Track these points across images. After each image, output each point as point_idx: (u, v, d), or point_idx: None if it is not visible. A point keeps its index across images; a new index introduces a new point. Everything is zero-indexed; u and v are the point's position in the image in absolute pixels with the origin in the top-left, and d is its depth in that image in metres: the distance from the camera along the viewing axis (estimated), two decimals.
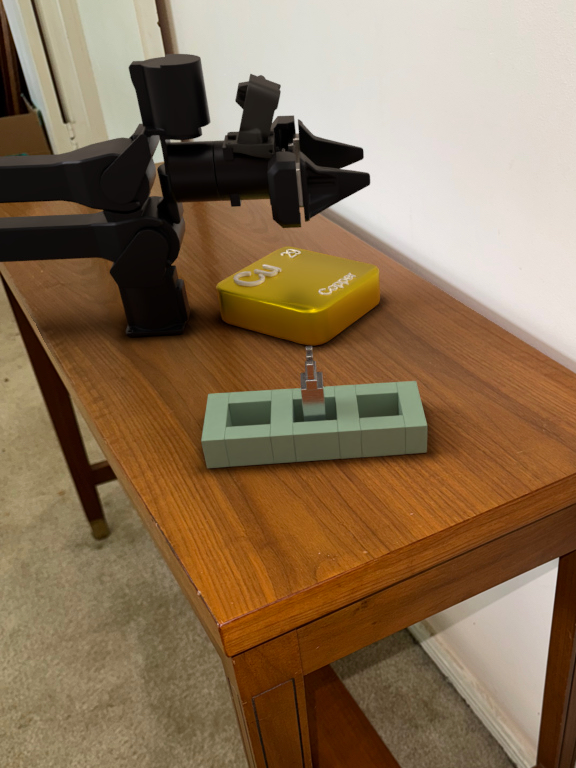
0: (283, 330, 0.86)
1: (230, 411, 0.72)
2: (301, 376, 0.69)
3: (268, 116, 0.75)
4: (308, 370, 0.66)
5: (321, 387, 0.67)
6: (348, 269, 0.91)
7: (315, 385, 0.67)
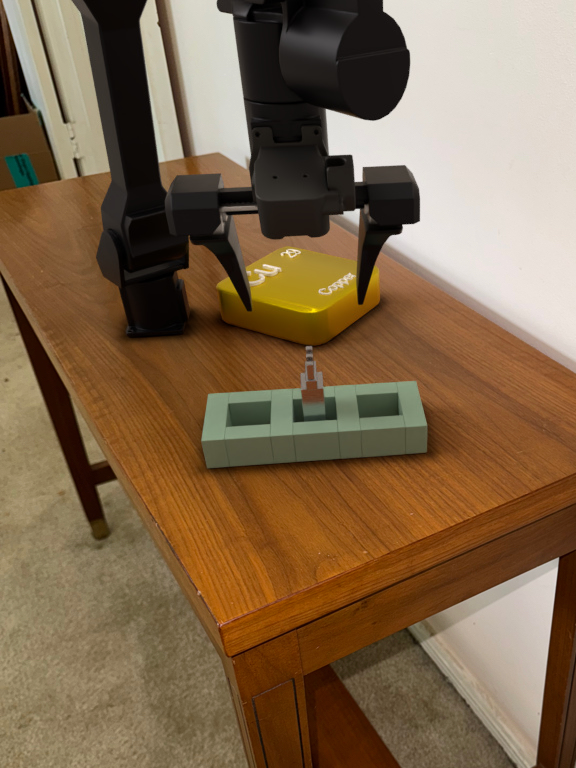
0: (283, 330, 0.86)
1: (230, 411, 0.72)
2: (301, 376, 0.69)
3: None
4: (308, 370, 0.66)
5: (321, 387, 0.67)
6: (348, 269, 0.91)
7: (315, 385, 0.67)
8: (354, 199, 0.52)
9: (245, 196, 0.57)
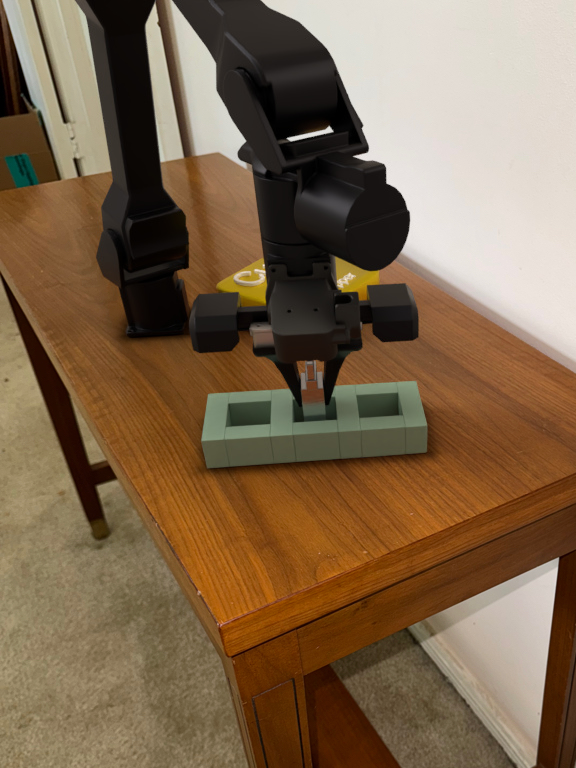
0: None
1: (230, 411, 0.72)
2: (301, 376, 0.69)
3: None
4: (308, 370, 0.66)
5: (321, 387, 0.67)
6: (348, 269, 0.91)
7: (315, 385, 0.67)
8: (359, 330, 0.58)
9: (261, 315, 0.63)
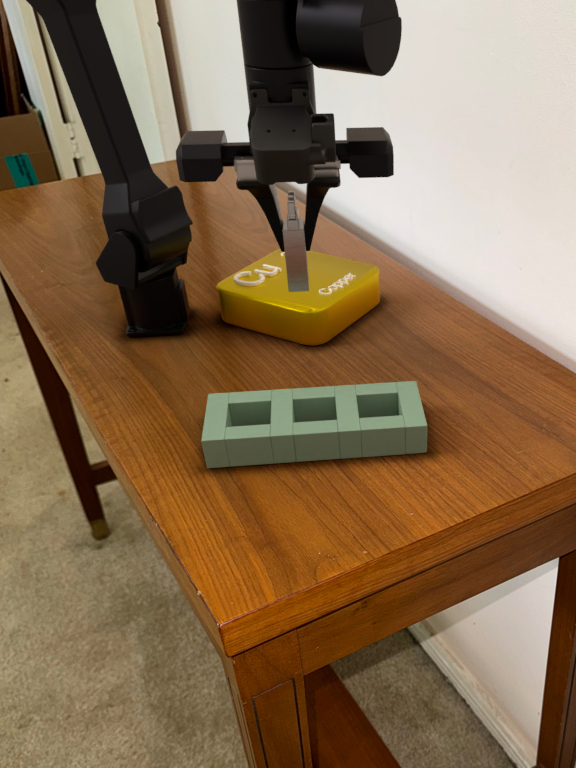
0: (283, 330, 0.86)
1: (230, 411, 0.72)
2: (284, 221, 0.72)
3: None
4: (289, 209, 0.69)
5: (302, 229, 0.71)
6: (348, 269, 0.91)
7: (296, 225, 0.70)
8: (335, 151, 0.61)
9: (244, 150, 0.67)
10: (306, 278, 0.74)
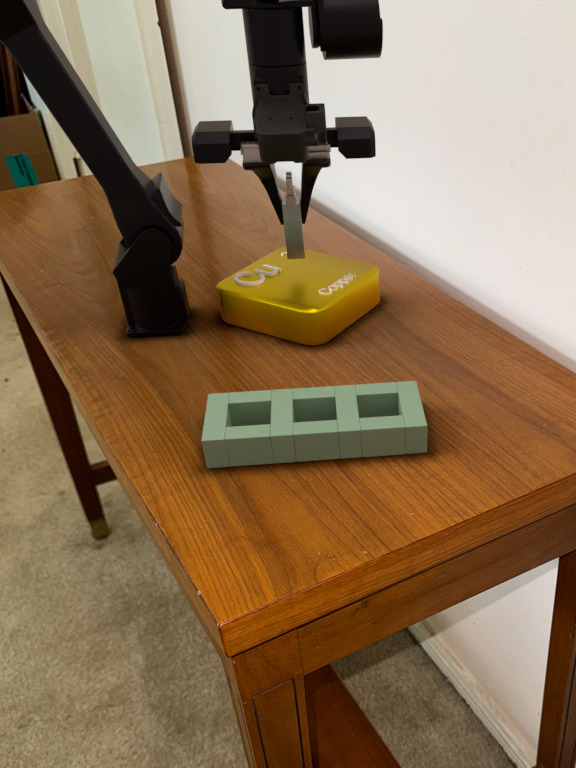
0: (283, 330, 0.86)
1: (230, 411, 0.72)
2: (282, 198, 0.85)
3: None
4: (287, 186, 0.81)
5: (298, 203, 0.83)
6: (348, 269, 0.91)
7: (293, 200, 0.82)
8: (325, 135, 0.74)
9: (249, 136, 0.79)
10: (302, 247, 0.86)
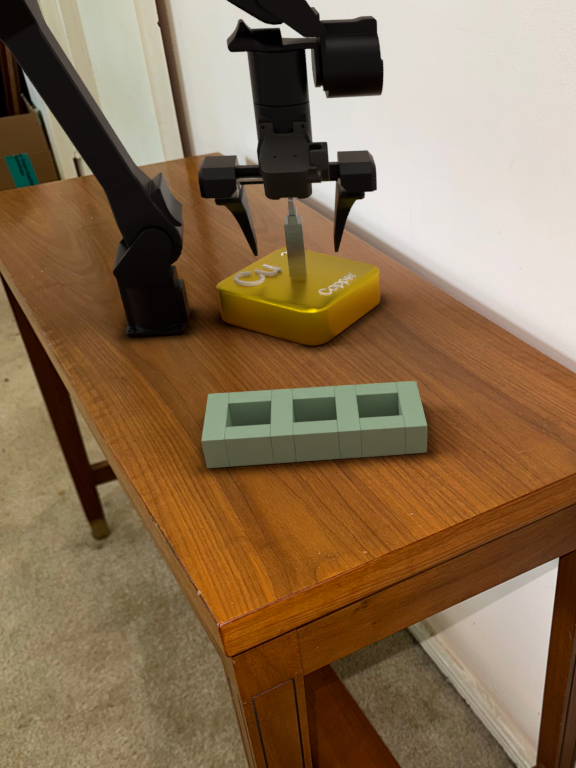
0: (283, 330, 0.86)
1: (230, 411, 0.72)
2: (284, 217, 0.86)
3: None
4: (289, 206, 0.83)
5: (300, 223, 0.84)
6: (348, 269, 0.91)
7: (295, 220, 0.84)
8: (328, 172, 0.76)
9: (253, 171, 0.81)
10: (304, 265, 0.87)
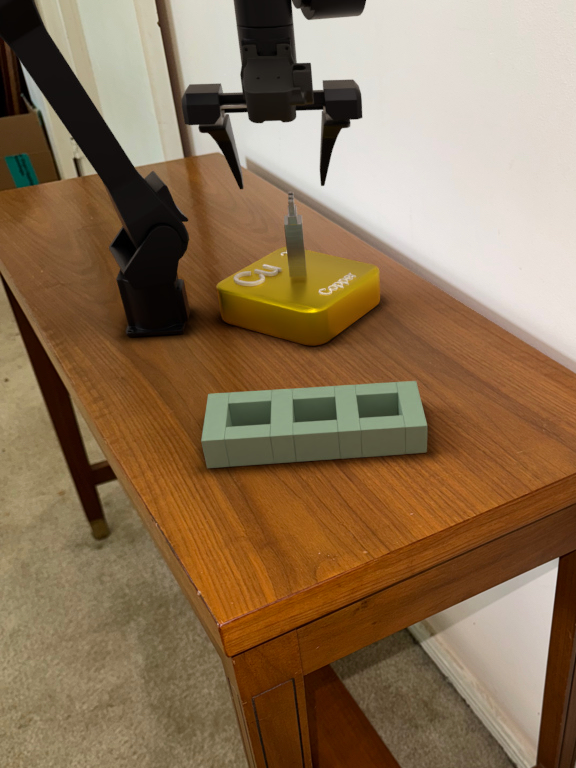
0: (283, 330, 0.86)
1: (230, 411, 0.72)
2: (284, 217, 0.86)
3: None
4: (289, 206, 0.83)
5: (300, 223, 0.84)
6: (348, 269, 0.91)
7: (295, 220, 0.84)
8: (312, 94, 0.75)
9: (238, 98, 0.80)
10: (304, 265, 0.87)
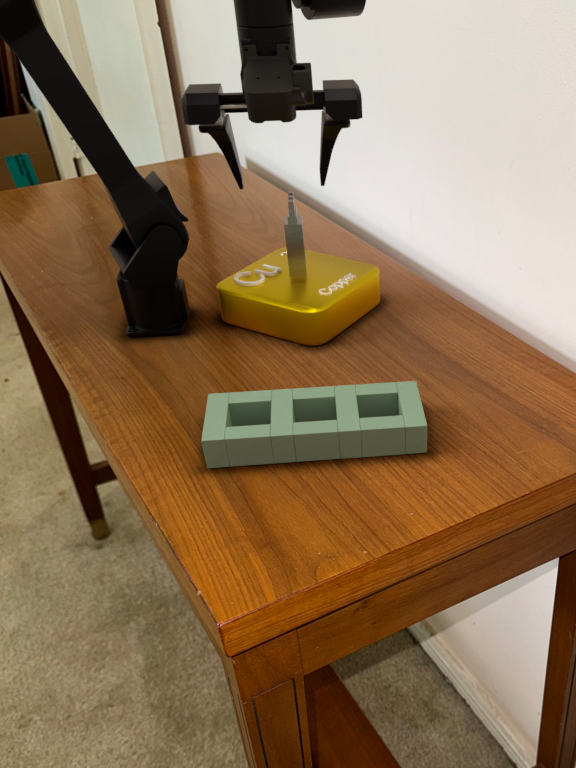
0: (283, 330, 0.86)
1: (230, 411, 0.72)
2: (284, 217, 0.86)
3: None
4: (289, 206, 0.83)
5: (300, 223, 0.84)
6: (348, 269, 0.91)
7: (295, 220, 0.84)
8: (312, 94, 0.75)
9: (238, 98, 0.80)
10: (304, 265, 0.87)
